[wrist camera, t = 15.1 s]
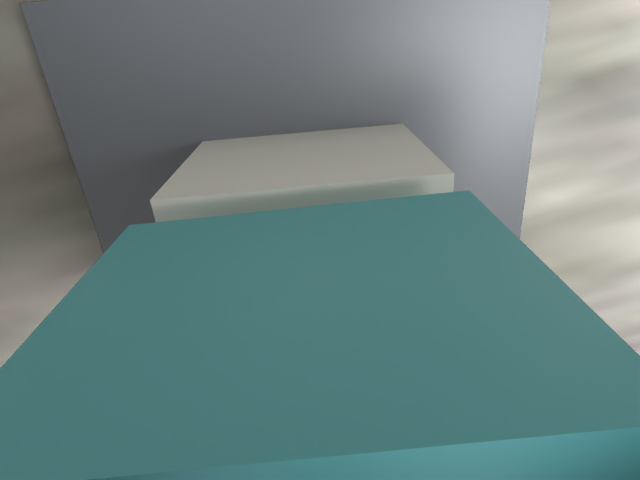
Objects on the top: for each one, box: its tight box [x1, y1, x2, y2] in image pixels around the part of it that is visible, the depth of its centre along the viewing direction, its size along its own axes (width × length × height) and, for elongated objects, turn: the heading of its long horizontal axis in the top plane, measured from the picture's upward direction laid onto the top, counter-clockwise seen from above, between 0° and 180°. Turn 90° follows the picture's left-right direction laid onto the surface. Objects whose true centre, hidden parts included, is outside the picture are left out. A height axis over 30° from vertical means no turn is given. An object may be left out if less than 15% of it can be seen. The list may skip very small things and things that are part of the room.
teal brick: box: [0, 190, 640, 480], centre depth 7 cm, size 6×6×5 cm
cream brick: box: [150, 124, 454, 222], centre depth 12 cm, size 6×6×5 cm
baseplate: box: [20, 0, 551, 253], centre depth 15 cm, size 14×14×2 cm
